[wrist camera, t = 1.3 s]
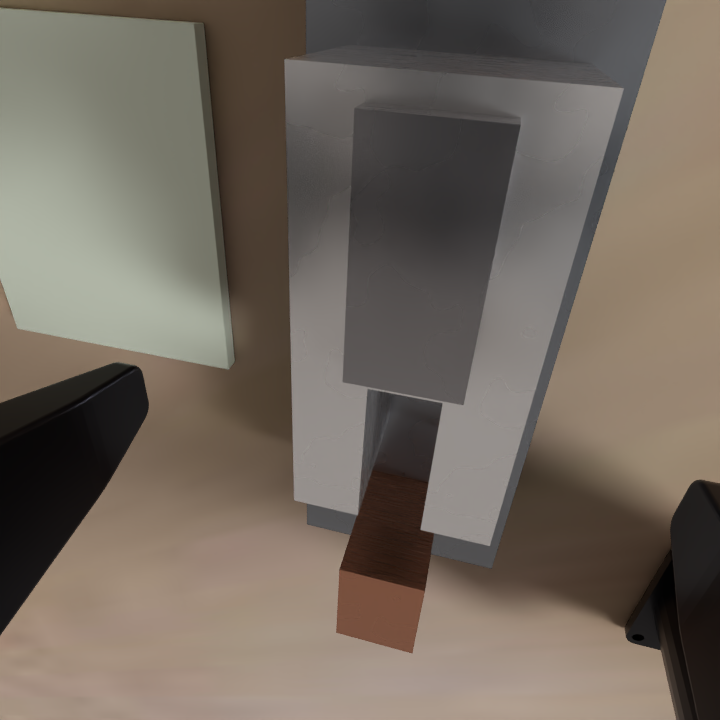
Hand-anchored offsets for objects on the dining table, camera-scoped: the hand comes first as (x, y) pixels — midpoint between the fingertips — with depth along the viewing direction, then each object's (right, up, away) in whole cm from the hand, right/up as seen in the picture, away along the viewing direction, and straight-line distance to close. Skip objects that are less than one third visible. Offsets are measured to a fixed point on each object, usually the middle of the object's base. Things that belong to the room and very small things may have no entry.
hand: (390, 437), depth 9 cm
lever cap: (+1, +3, +5) cm, 6 cm away
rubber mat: (-10, +7, +11) cm, 17 cm away
